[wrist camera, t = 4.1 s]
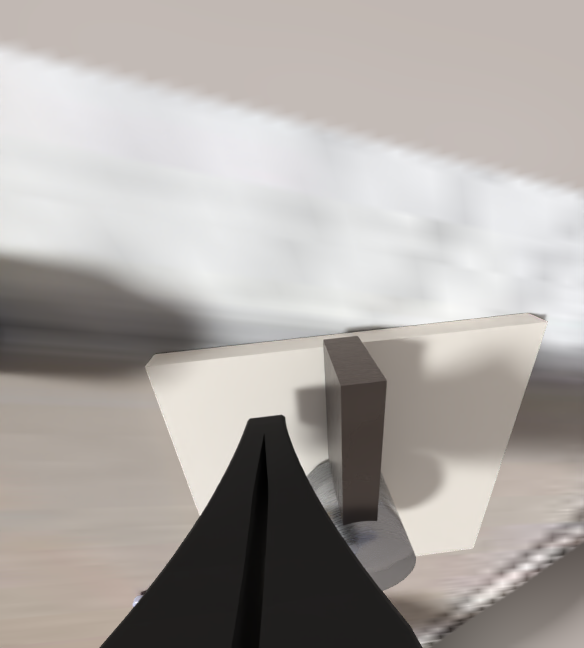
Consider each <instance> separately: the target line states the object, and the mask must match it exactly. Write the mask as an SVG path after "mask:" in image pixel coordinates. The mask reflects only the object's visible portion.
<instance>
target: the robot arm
mask: <svg viewBox="0 0 584 648" xmlns="http://www.w3.org/2000/svg"><path fill="white" fill-rule="evenodd" d="M133 607H134V608H133V609H132V610H131V611H130V612H129V614H128V615H127V616H126V617H125V619H124V620H123V621H122V622H121V623H120V624H119V626H118V627H117V628H116V629H115V630H114V631H113V633H112V634H111V635H110V636H109V637H108V638H107V640H106V641H105V642H104V643H103V644H102V645H101V647H100V648H422V646H421V644H420V643H419V641H418V639H417V637H416V635H415V634H414V632H413V630H412V628H411V627H410V625H409V624H408V623H407V621H406V620H405V619H404V618H403V616H402V615H401V614H400V613H399V612H398V610H397V609H396V608H395V607H394V605H393V604H392V603H391V602H390V600H389V599H388V598H387V597H386V595H385V594H384V593H383V592H382V590H381V589H380V588H379V587H378V585H377V584H376V583H375V581H374V580H373V579H372V577H371V576H370V575H369V573H368V572H367V571H366V569H365V568H364V567H363V565H362V564H361V563H360V561H359V560H358V558H357V557H356V555H355V554H354V553H353V551H352V550H351V548H350V547H349V545H348V544H347V543H346V541H345V540H344V538H343V537H342V535H341V534H340V532H339V531H338V529H337V528H336V526H335V525H334V523H333V522H332V520H331V518H330V517H329V515H328V514H327V512H326V510H325V509H324V507H323V505H322V504H321V502H320V500H319V499H318V497H317V495H316V493H315V491H314V490H313V488H312V486H311V484H310V482H309V480H308V478H307V476H306V474H305V472H304V470H303V468H302V466H301V464H300V462H299V459H298V457H297V455H296V452H295V450H294V448H293V445H292V442H291V439H290V436H289V433H288V430H287V426H286V419H285V416H283V415H274V416H266V417H258V418H250V419H249V420H248V421H247V424H246V427H245V429H244V432H243V435H242V437H241V439H240V442H239V444H238V446H237V449H236V451H235V453H234V455H233V457H232V459H231V461H230V463H229V465H228V467H227V469H226V471H225V473H224V475H223V477H222V479H221V481H220V483H219V484H218V486H217V488H216V490H215V492H214V494H213V495H212V497H211V499H210V500H209V502H208V504H207V506H206V507H205V509H204V510H203V512H202V514H201V515H200V517H199V518H198V520H197V522H196V523H195V525H194V526H193V528H192V529H191V531H190V532H189V534H188V535H187V537H186V538H185V539H184V541H183V542H182V544H181V545H180V547H179V548H178V550H177V551H176V553H175V554H174V555H173V557H172V558H171V559H170V561H169V562H168V564H167V565H166V566H165V568H164V569H163V570H162V572H161V573H160V574H159V575H158V577H157V578H156V579H155V581H154V582H153V583H152V584H151V586H150V587H149V588H148V590H147V591H146V592H145V593H144V595H139V596H137V597H135V599H134V602H133Z"/></svg>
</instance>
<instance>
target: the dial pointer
mask: <svg viewBox="0 0 584 648" xmlns="http://www.w3.org/2000/svg"><path fill="white" fill-rule="evenodd" d="M323 349H324V371H325V393H326V415H327V437H328V459H329V461H328V462H325V463H323V464H321V465H320V466H318V467H316V468H315V469H314V470H312V471H311V472H310V473H309V474H308V476H307V478H308V480H309V482H310V484H311V486H312V488H313V490H314V491H315V493H316V495H317V497H318V499H319V500H320V502H321V504H322V505H323V507H324V509H325V510H326V512H327V514H328V515H329V517H330V518H331V520H332V522H333V523H334V525H335V526H336V528H337V529H338V531H339V532H340V534H341V535H342V537H343V538H344V540H345V541H346V543H347V544H348V545H349V547H350V548H351V550H352V551H353V553H354V554H355V555H356V557H357V558H358V560H359V561H360V563H361V564H362V565H363V567H364V568H365V569H366V571H367V572H368V573H369V575H370V576H371V577H372V579H373V580H374V581H375V583H376V584H377V585H378V587H379V588H380V589H381V590H382V591H383V590H386V589H388V588H390V587H393V586H394V585H396V584H398V583H399V582H401V581H402V580H404V579H405V578H406V577H407V576H408V575H409V574H410V573H411V571H412V570H413V568H414V566H415V563H416V556H415V553H414V551H413V548H412V546H411V543H410V541H409V538H408V536H407V533H406V531H405V529H404V526H403V524H402V521H401V519H400V516H399V514H398V511H397V509H396V507H395V504H394V502H393V499H392V497H391V494H390V492H389V490H388V487H387V485H386V482H385V480H384V477H383V475H382V473H381V460H382V445H383V431H384V416H385V402H386V388H387V380H386V378H385V377H384V375H383V374H382V372H381V371H380V369H379V368H378V366H377V364H376V363H375V361H374V360H373V358H372V357H371V355H370V354H369V352H368V351H367V349H366V348H365V346H364V345H363V343H362V341H361V340H360V338H359V337H358V336H351V337H342V338H333V339H324V340H323Z"/></svg>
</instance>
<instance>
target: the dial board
mask: <svg viewBox="0 0 584 648" xmlns="http://www.w3.org/2000/svg"><path fill="white" fill-rule="evenodd" d="M547 323H548V321H545V320H543V319H541V318H538V317H536V316H534V315H531V314H529V313H523V314H514V315H505V316H496V317H487V318H478V319H469V320H460V321H451V322H442V323H433V324H424V325H415V326H406V327H397V328H388V329H379V330H369V331H360V332H351V333H342V334H333V335H324V336H315V337H306V338H297V339H288V340H279V341H270V342H261V343H252V344H243V345H234V346H225V347H216V348H207V349H198V350H189V351H180V352H171V353H162V354H154V355H153V357H152V358H151V359H150V361H149V362H148V363H147V365H146V366H145V369H146V371H147V374H148V377H149V379H150V382H151V385H152V388H153V390H154V393H155V396H156V399H157V401H158V404H159V407H160V409H161V412H162V415H163V418H164V420H165V423H166V426H167V428H168V431H169V434H170V437H171V439H172V442H173V445H174V448H175V450H176V453H177V456H178V458H179V461H180V464H181V467H182V469H183V472H184V475H185V477H186V480H187V483H188V486H189V488H190V491H191V494H192V497H193V499H194V502H195V505H196V507H197V510H198V513H199V516H200V515H201V514H202V512H203V510H204V509H205V507H206V506H207V504H208V502H209V500H210V499H211V497H212V495H213V494H214V492H215V490H216V488H217V486H218V484H219V483H220V481H221V479H222V477H223V475H224V473H225V471H226V469H227V467H228V465H229V463H230V461H231V459H232V457H233V455H234V453H235V451H236V449H237V446H238V444H239V442H240V439H241V437H242V435H243V432H244V429H245V427H246V424H247V421H248V420H249V419H250V418H258V417H266V416H274V415H283V416H285V419H286V426H287V430H288V433H289V436H290V439H291V442H292V445H293V448H294V450H295V452H296V455H297V457H298V459H299V462H300V464H301V466H302V468H303V470H304V472H305V474H306V476H308V474H309V473H310V472H311V471H312V470H314V469H315V468H316V467H318V466H320V465H321V464H323V463H325V462H328V461H329V459H328V437H327V415H326V393H325V371H324V349H323V340H324V339H333V338H342V337H351V336H358V337H359V338H360V340H361V341H362V343H363V345H364V346H365V348H366V349H367V351H368V352H369V354H370V355H371V357H372V358H373V360H374V361H375V363H376V364H377V366H378V368H379V369H380V371H381V372H382V374H383V375H384V377H385V378H386V380H387V388H386V402H385V416H384V431H383V445H382V460H381V473H382V475H383V477H384V480H385V482H386V485H387V487H388V490H389V492H390V494H391V497H392V499H393V502H394V504H395V507H396V509H397V511H398V514H399V516H400V519H401V521H402V524H403V526H404V529H405V531H406V533H407V536H408V538H409V541H410V543H411V546H412V548H413V551H414V553H415V556H420V555H428V554H435V553H442V552H450V551H457V550H464V549H472V548H474V545H475V541H476V538H477V535H478V532H479V529H480V526H481V523H482V520H483V517H484V514H485V511H486V508H487V505H488V502H489V499H490V496H491V493H492V490H493V487H494V484H495V481H496V478H497V475H498V472H499V469H500V466H501V463H502V460H503V457H504V454H505V451H506V448H507V444H508V441H509V438H510V435H511V432H512V429H513V426H514V423H515V420H516V417H517V414H518V411H519V408H520V405H521V402H522V399H523V396H524V393H525V390H526V387H527V384H528V381H529V378H530V375H531V372H532V369H533V366H534V363H535V360H536V357H537V354H538V350H539V347H540V344H541V341H542V338H543V335H544V332H545V329H546V326H547Z"/></svg>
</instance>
